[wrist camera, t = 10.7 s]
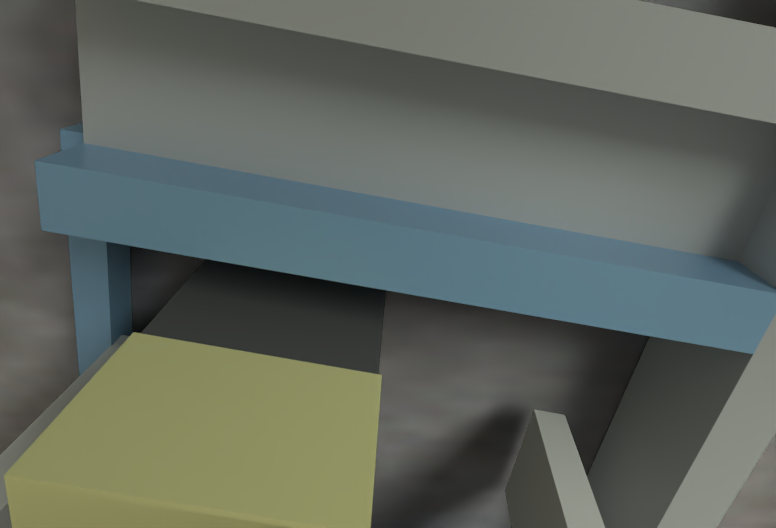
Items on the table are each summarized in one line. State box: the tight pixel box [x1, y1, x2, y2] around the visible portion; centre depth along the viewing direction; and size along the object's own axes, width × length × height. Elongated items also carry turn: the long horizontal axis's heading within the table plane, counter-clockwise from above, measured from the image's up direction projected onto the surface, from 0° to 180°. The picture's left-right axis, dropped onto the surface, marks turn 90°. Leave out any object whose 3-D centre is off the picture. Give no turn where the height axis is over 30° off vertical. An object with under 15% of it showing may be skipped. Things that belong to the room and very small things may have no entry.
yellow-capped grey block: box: [4, 259, 386, 528], centre depth 11 cm, size 8×4×7 cm, turn 170°
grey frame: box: [34, 0, 776, 528], centre depth 9 cm, size 27×14×3 cm, turn 170°
